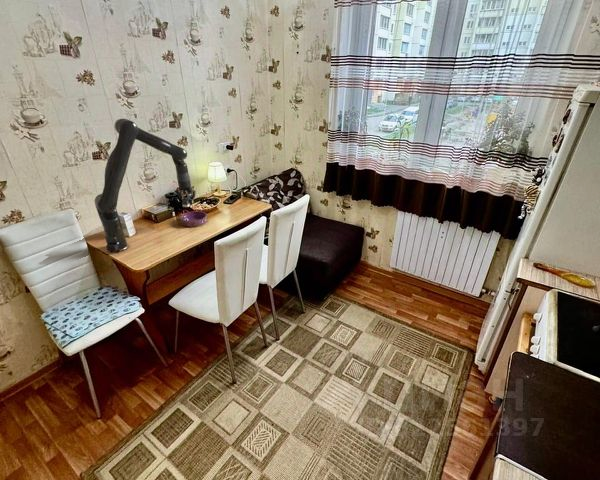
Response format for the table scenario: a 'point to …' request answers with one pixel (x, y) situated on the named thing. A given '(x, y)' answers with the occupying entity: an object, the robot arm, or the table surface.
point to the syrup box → (127, 224)
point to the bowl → (194, 218)
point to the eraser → (186, 202)
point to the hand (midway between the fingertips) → (188, 204)
